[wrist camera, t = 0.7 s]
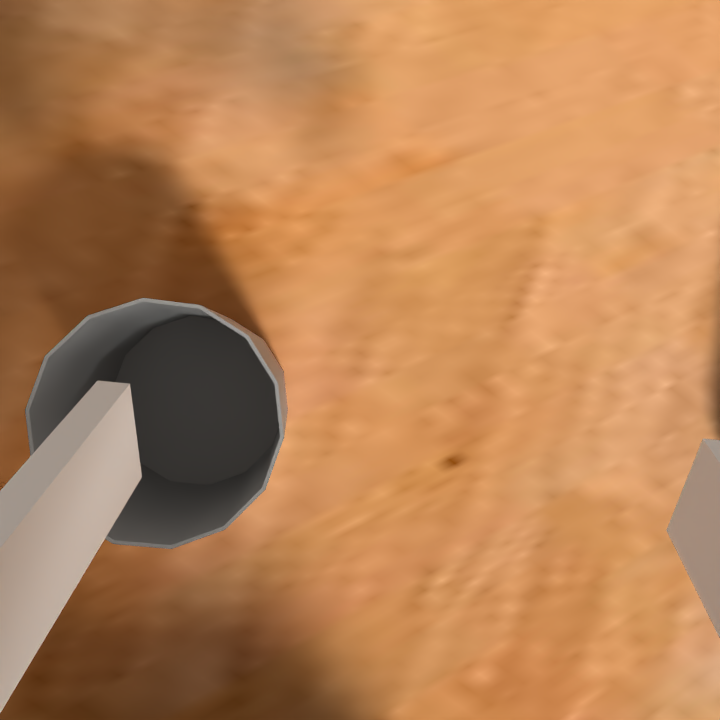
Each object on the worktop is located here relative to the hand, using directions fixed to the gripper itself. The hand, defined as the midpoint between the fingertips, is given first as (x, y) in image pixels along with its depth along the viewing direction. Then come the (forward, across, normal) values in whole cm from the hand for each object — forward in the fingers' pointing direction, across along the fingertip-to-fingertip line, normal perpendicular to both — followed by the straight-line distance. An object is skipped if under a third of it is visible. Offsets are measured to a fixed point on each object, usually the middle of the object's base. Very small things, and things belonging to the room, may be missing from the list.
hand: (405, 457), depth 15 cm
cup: (+14, +10, +8) cm, 19 cm away
